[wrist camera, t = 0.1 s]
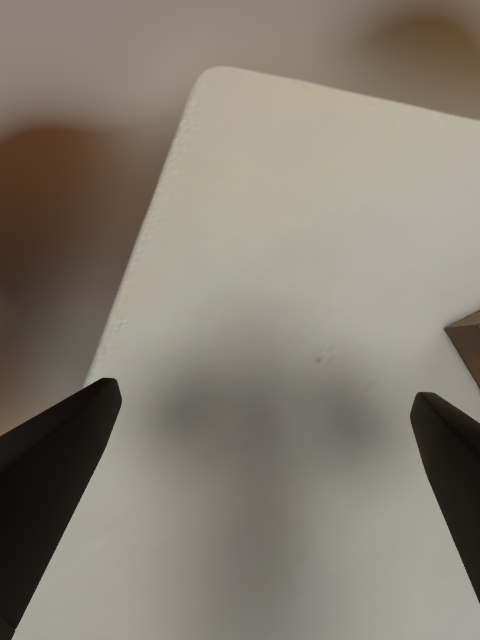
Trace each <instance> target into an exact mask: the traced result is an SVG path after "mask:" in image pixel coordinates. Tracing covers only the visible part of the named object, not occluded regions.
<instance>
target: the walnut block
mask: <svg viewBox="0 0 480 640" xmlns="http://www.w3.org/2000/svg"><path fill="white" fill-rule="evenodd" d="M445 330H446V332H447V334H448V335H449V337H450V339H451V340H452V342H453V344H454V345H455V347H456V349H457V350H458V352H459V353H460V355H461V357H462V358H463V360H464V362H465V363H466V365H467V367H468V368H469V370H470V372H471V373H472V375H473V377H474V378H475V380H476V382H477V383H478V385H479V387H480V310H479V311H477V312H475V313H473V314H471V315H469V316H467V317H465V318H463V319H461V320H459V321H457V322H455V323H453V324H451V325H449V326H447V327H445Z"/></svg>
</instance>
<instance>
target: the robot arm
mask: <svg viewBox="0 0 480 640" xmlns="http://www.w3.org/2000/svg"><path fill="white" fill-rule="evenodd" d="M121 404H122V397H121V393H120V390H119V386H118V382H117V380H116V379H114V378H101V379H99V380H98V381H96V382H94V383H92V384H91V385H89V386H87V387H85V388H84V389H82V390H80V391H78V392H77V393H75V394H73V395H72V396H70V397H68V398H66V399H64V400H63V401H61V402H60V403H58V404H56V405H54V406H52V407H51V408H49V409H47V410H45V411H44V412H42V413H40V414H38V415H37V416H35V417H33V418H31V419H30V420H28V421H26V422H24V423H23V424H21V425H19V426H17V427H16V428H14V429H12V430H10V431H9V432H7V433H5V434H3V435H2V436H0V640H11V639H12V637H13V635H14V633H15V630H14V629H16V628H17V626H18V624H19V622H20V620H21V618H22V616H23V614H24V612H25V610H26V608H27V606H28V604H29V602H30V600H31V598H32V596H33V594H34V592H35V590H36V588H37V586H38V584H39V582H40V580H41V578H42V576H43V574H44V572H45V570H46V568H47V566H48V564H49V562H50V560H51V558H52V556H53V554H54V552H55V550H56V547H57V545H58V543H59V541H60V539H61V537H62V535H63V533H64V531H65V529H66V527H67V525H68V523H69V521H70V519H71V517H72V515H73V513H74V511H75V509H76V507H77V505H78V503H79V501H80V499H81V497H82V495H83V493H84V491H85V489H86V487H87V485H88V483H89V481H90V479H91V477H92V475H93V473H94V471H95V469H96V467H97V465H98V463H99V461H100V459H101V456H102V454H103V452H104V450H105V448H106V445H107V443H108V440H109V437H110V435H111V432H112V429H113V426H114V424H115V421H116V418H117V416H118V413H119V410H120V408H121ZM410 420H411V424H412V428H413V431H414V435H415V438H416V441H417V445H418V448H419V452H420V455H421V459H422V462H423V465H424V469H425V472H426V474H427V477H428V480H429V482H430V485H431V487H432V489H433V492H434V494H435V497H436V499H437V501H438V504H439V506H440V509H441V511H442V514H443V516H444V518H445V521H446V523H447V526H448V528H449V530H450V533H451V535H452V538H453V540H454V543H455V545H456V547H457V550H458V552H459V555H460V557H461V559H462V562H463V564H464V567H465V569H466V572H467V574H468V576H469V579H470V581H471V584H472V586H473V588H474V591H475V593H476V596H477V598H478V601H479V603H480V423H478V422H477V421H475V420H474V419H473V418H471V417H470V416H468V415H467V414H465V413H464V412H462V411H461V410H459V409H458V408H456V407H455V406H453V405H452V404H450V403H449V402H447V401H446V400H444V399H443V398H441V397H440V396H438V395H437V394H435V393H432V392H418V393H417V394H416V396H415V400H414V403H413V406H412V410H411V413H410Z"/></svg>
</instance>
